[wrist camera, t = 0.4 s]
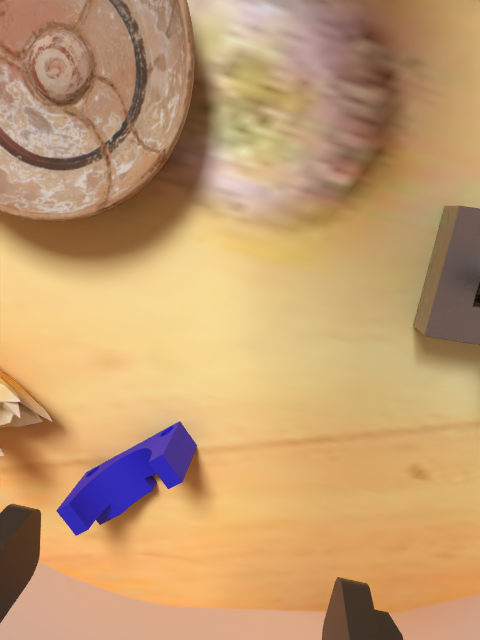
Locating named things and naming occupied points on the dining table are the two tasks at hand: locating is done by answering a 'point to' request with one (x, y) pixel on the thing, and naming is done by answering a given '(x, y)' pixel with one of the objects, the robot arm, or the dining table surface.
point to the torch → (17, 405)
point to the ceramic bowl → (89, 101)
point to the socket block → (453, 279)
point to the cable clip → (128, 478)
